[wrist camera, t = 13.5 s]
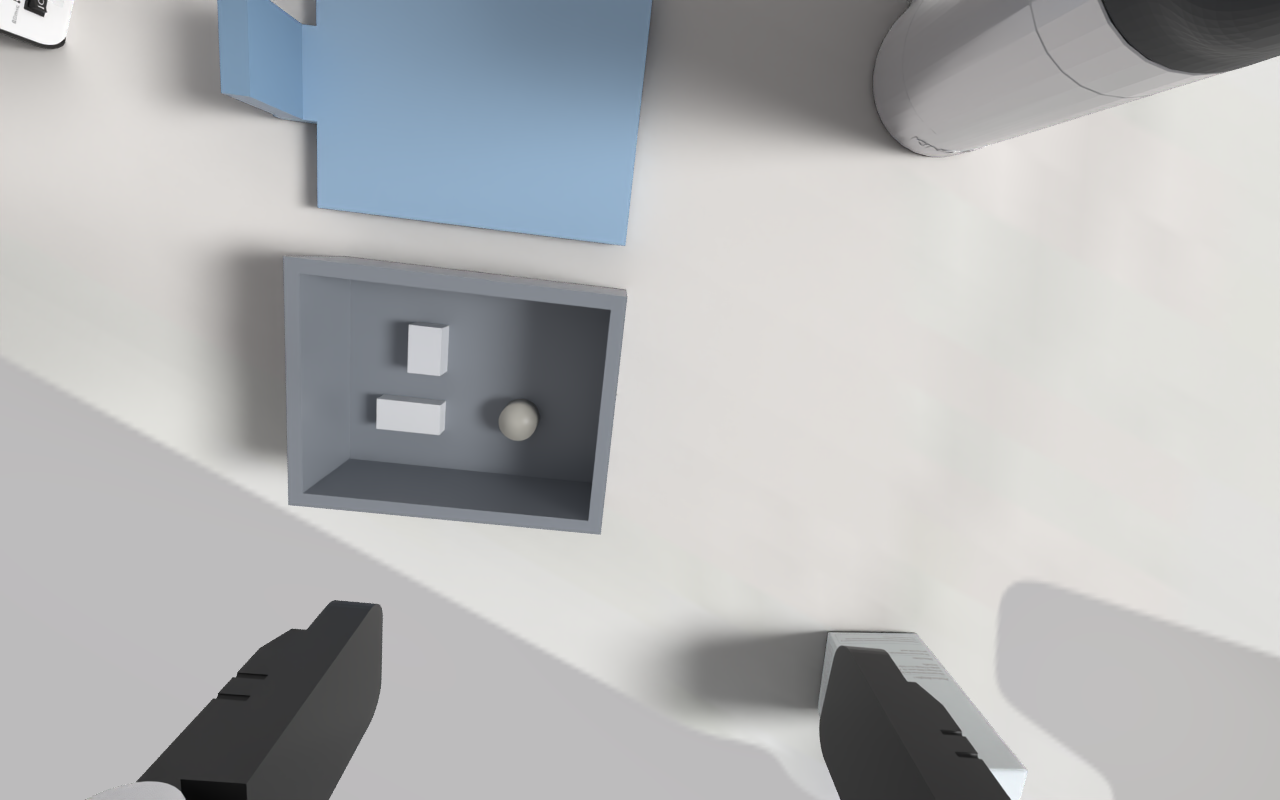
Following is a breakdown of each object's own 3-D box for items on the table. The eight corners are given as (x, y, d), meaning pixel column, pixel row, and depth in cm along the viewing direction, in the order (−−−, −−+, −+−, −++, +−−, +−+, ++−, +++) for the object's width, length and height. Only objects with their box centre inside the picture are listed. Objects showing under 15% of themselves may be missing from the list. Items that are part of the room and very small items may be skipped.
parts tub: (344, 256, 37) (283, 255, 31) (626, 289, 38) (627, 296, 32) (344, 463, 41) (288, 505, 34) (603, 489, 42) (600, 534, 35)
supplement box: (814, 710, 47) (883, 872, 34) (826, 628, 45) (904, 768, 33) (905, 713, 47) (1006, 874, 35) (921, 631, 45) (1033, 770, 33)
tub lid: (286, -62, 34) (204, -141, 27) (653, -7, 35) (660, -69, 28) (291, 204, 37) (219, 193, 30) (625, 246, 38) (625, 243, 32)
